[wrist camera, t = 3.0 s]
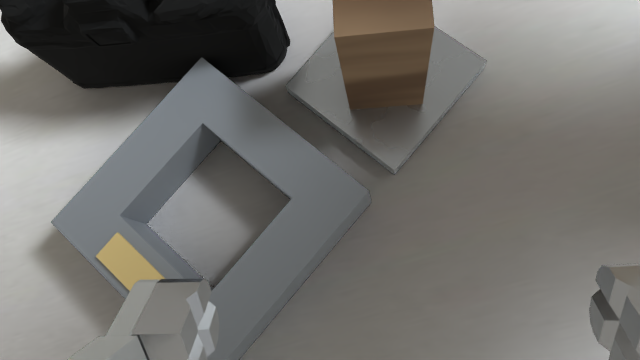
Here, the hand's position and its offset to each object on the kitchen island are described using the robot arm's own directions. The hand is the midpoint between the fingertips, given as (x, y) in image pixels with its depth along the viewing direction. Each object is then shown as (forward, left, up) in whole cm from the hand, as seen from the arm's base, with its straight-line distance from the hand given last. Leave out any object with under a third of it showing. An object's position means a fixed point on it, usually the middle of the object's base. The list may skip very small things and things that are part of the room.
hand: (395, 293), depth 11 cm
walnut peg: (+8, -9, -15) cm, 20 cm away
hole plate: (+10, +3, -16) cm, 19 cm away
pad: (+8, -9, -16) cm, 21 cm away
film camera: (+21, -5, -17) cm, 27 cm away
